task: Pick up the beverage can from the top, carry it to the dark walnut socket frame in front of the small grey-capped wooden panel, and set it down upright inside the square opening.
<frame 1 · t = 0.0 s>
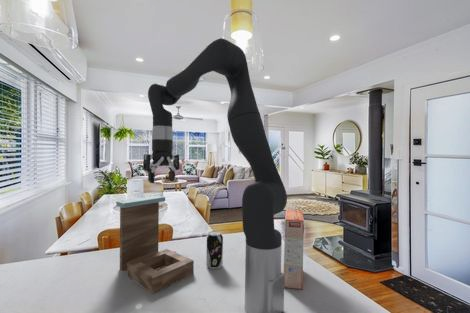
hand: (162, 182, 91), 29 cm above the kitchen island, tool pointing down, fingers open, 8 cm apart
beverage can: (214, 266, 86), on the kitchen island
grey-capped wooden panel: (140, 263, 88), on the kitchen island
cracker box: (293, 278, 79), on the kitchen island
socket block: (160, 275, 79), on the kitchen island
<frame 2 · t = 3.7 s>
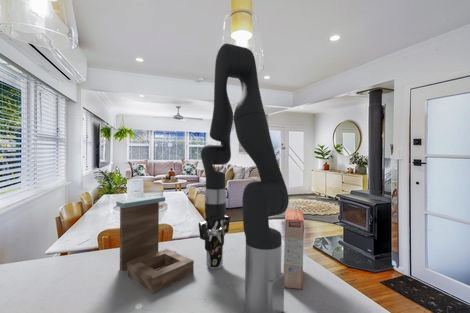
hand: (214, 248, 86), 7 cm above the kitchen island, tool pointing down, fingers closed on beverage can, 5 cm apart
beverage can: (214, 266, 86), on the kitchen island, touching gripper
everything else where it was.
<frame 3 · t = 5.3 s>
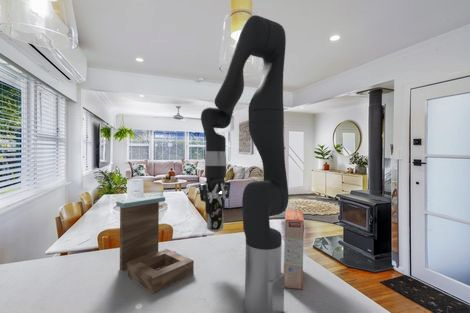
hand: (215, 211, 86), 20 cm above the kitchen island, tool pointing down, fingers closed on beverage can, 5 cm apart
beverage can: (215, 230, 86), point 13 cm above the kitchen island, touching gripper
everything else where it was.
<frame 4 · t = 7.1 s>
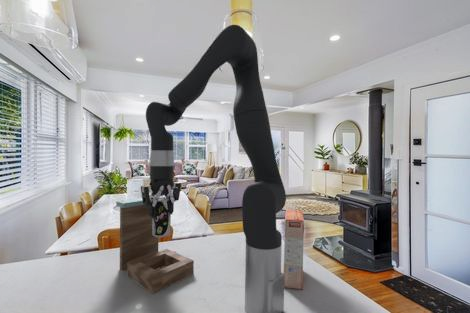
hand: (161, 215, 79), 20 cm above the kitchen island, tool pointing down, fingers closed on beverage can, 5 cm apart
beverage can: (161, 236, 79), point 13 cm above the kitchen island, touching gripper
everything else where it was.
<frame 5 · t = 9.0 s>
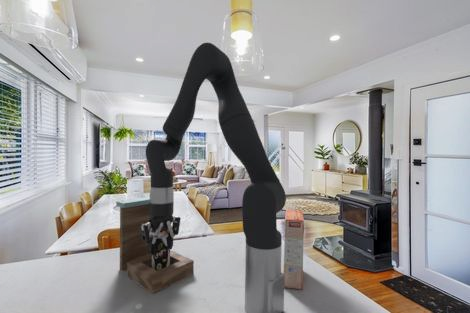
hand: (161, 251, 79), 8 cm above the kitchen island, tool pointing down, fingers closed on beverage can, 5 cm apart
beverage can: (160, 271, 79), point 1 cm above the kitchen island, touching gripper
everything else where it was.
when the fingers open (7 cm above the kitchen island, at t = 10.7 s): beverage can stays where it is, resting in socket block.
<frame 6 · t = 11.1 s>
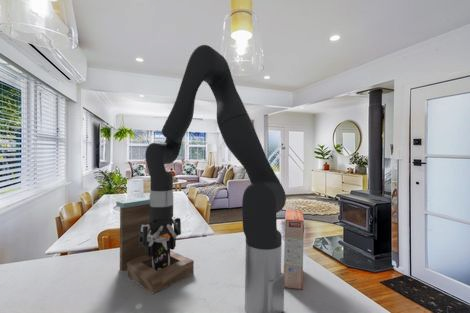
hand: (161, 252, 79), 7 cm above the kitchen island, tool pointing down, fingers open, 8 cm apart
beverage can: (160, 275, 79), resting in socket block
everything else where it was.
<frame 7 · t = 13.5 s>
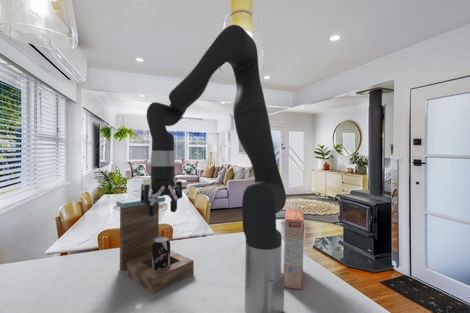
hand: (162, 213, 79), 20 cm above the kitchen island, tool pointing down, fingers open, 8 cm apart
nothing on the kitchen island moved.
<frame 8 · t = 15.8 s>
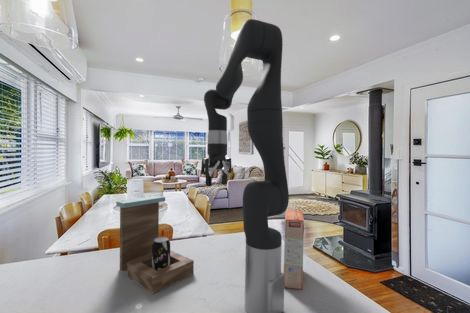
hand: (216, 185, 92), 28 cm above the kitchen island, tool pointing down, fingers open, 8 cm apart
nothing on the kitchen island moved.
at the end: beverage can 0.1 cm off-centre on the socket block, point 0.0 cm above the socket block's base; beverage can tilted 0°; the gripper is holding nothing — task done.
